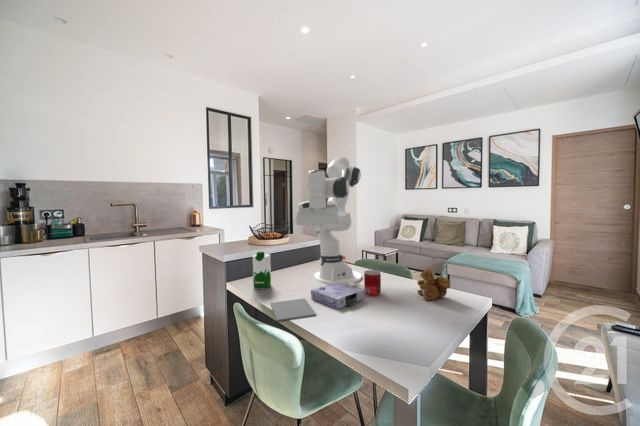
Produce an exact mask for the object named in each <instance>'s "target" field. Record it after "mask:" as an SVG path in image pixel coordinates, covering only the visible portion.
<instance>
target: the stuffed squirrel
mask: <svg viewBox="0 0 640 426" xmlns="http://www.w3.org/2000/svg"><path fill="white" fill-rule="evenodd" d="M435 275H436V272H434V271H433V270H432V269H431V268H427V269H424V270H423V271H422V272H421V273H420V275H419V278H422V280H418V281H417V282H416V283H417V285H418V286H419V288H420V289H417V294H420V295H423V297H422V299H423V300H425V301H426V300H427V301H428V300H429V301H430V300H431V301H433V300H436V299H437V298H439V299H441V298H443V297H444V298H445V296H446V295H447V293H448V289H450V287H451V282H450V281H449V279H447V278H446V277H443V276H438V277H436V278H435Z"/></svg>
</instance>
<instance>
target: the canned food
mask: <svg viewBox="0 0 640 426" xmlns="http://www.w3.org/2000/svg"><path fill="white" fill-rule="evenodd" d="M363 275H364V276H363V277H364V279H363V281H364V283H363V284H364V285H363V286H364V287H363V288H364V294H365V295H367V296H369V297H378V296H380V295H381V292H382V290H381V288H382V287H381V286H382V284H381V283H382V281H381V280H382V279H381V278H382V277H381V271H379V270H376V269H368V270H364V274H363Z"/></svg>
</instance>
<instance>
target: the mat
mask: <svg viewBox="0 0 640 426" xmlns="http://www.w3.org/2000/svg"><path fill="white" fill-rule="evenodd" d="M270 306H271V310H272V312H273V315H274V317H275V320H276V322H280V321H281V322H282V321H289V320H295V319H302V318H309V317H316V316H317V313H316V311H315V310H314V308H312V306H311V304H309V302H308V301H307V300H306V298H299V299H289V300H281V301H274V302H270Z"/></svg>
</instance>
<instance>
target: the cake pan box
mask: <svg viewBox="0 0 640 426" xmlns="http://www.w3.org/2000/svg"><path fill="white" fill-rule="evenodd" d="M364 294H365V291H364V290H363V289H360V288H357V287H355V286H349V285H347V284H345V285H343V284H340V283H333V284H327V285H323V286H320V287H316V288H313V289H310V295H311V296H310V297H311V299H312V300H314V301H316V302H319V303H321V304H324V305H326V306H329V307H332V308H334V309H336V310H339V309H342V308H345V307H347V306H348V307H349V306H351V305H354V304H356V303H357V302H360V301H362V300H364Z"/></svg>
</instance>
